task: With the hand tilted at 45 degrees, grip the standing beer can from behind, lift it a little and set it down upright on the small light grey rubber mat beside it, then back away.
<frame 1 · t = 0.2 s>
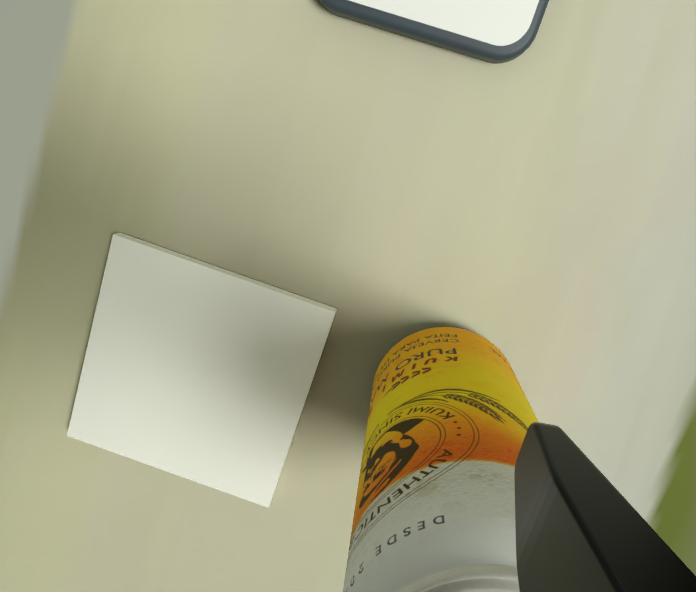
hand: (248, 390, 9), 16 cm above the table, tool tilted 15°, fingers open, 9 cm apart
mat: (198, 372, 26), on the table
beer can: (442, 386, 26), on the table
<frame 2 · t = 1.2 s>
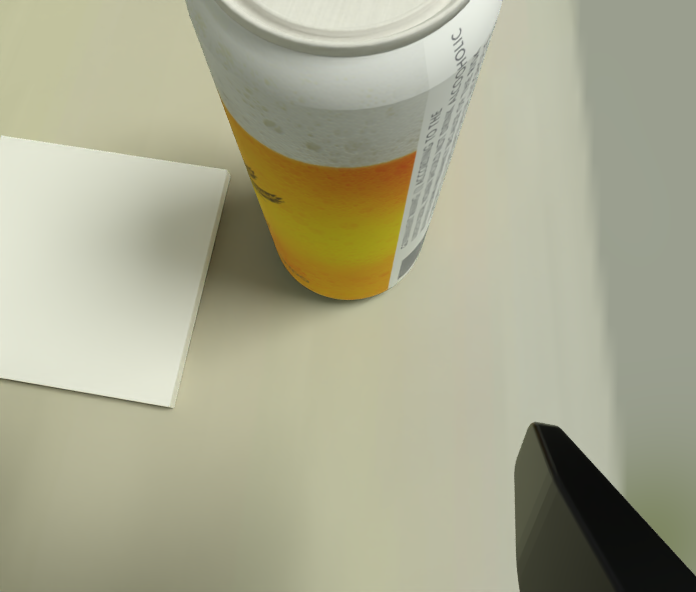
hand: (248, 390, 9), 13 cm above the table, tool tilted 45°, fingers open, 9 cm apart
mat: (86, 266, 24), on the table
beer can: (349, 236, 25), on the table
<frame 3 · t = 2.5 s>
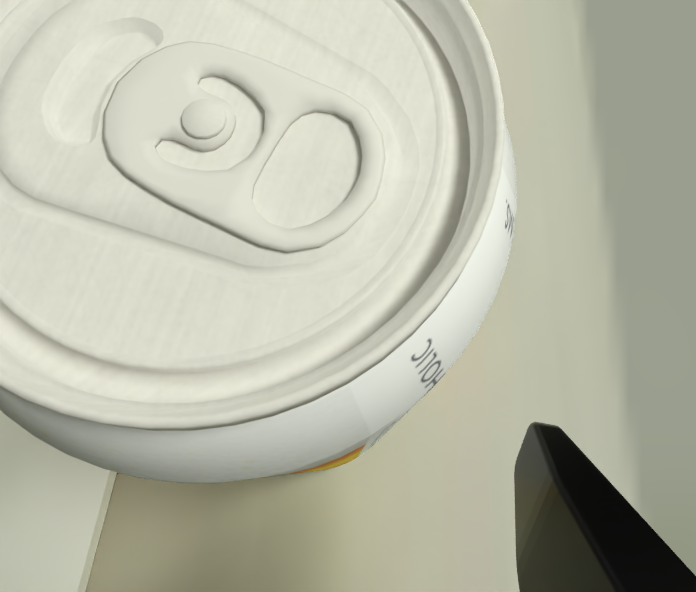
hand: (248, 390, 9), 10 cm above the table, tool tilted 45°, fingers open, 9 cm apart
beer can: (310, 376, 19), on the table
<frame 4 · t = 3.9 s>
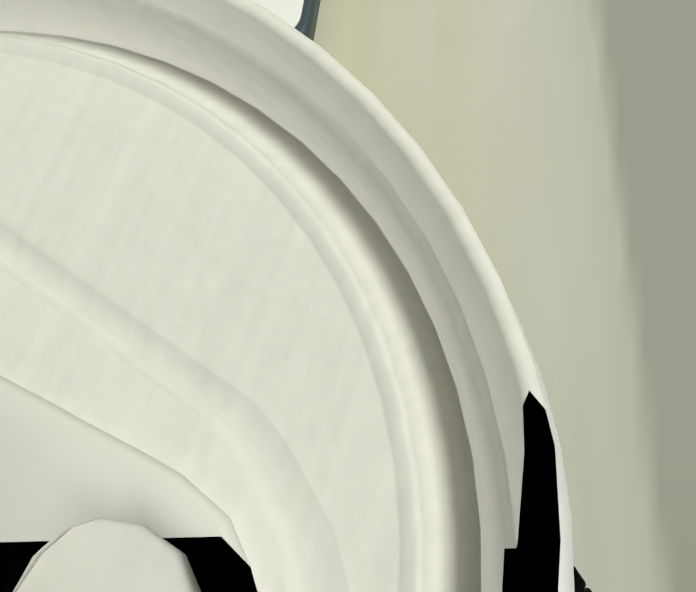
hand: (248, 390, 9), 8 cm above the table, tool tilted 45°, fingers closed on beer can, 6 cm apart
beer can: (284, 470, 17), on the table, touching gripper
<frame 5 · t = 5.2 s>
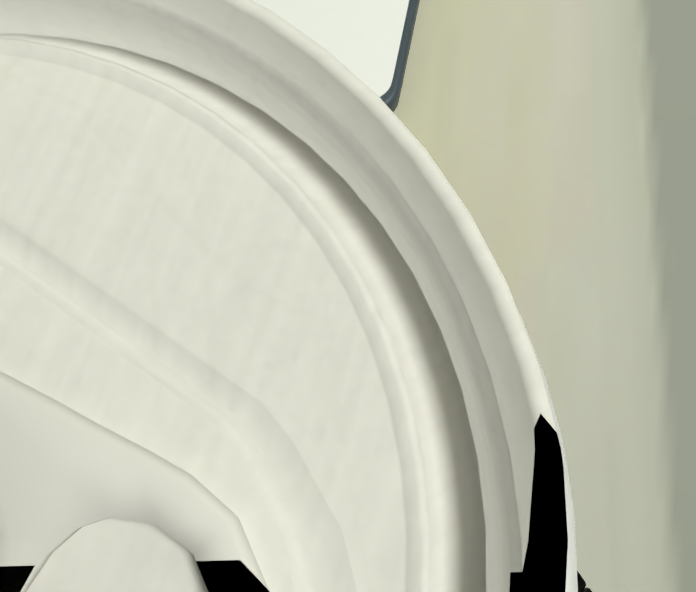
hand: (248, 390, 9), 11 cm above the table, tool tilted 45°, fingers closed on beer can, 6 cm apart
beer can: (285, 470, 17), point 3 cm above the table, touching gripper
when the fingers open (9 cm above the table, at t = 6.9 s): beer can stays where it is, resting on mat.
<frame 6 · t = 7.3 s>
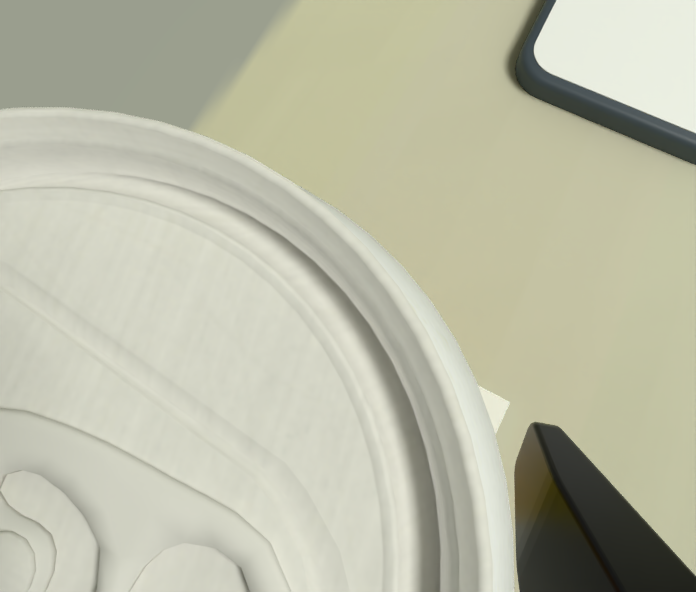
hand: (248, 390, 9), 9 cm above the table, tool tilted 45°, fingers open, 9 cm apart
mat: (290, 469, 18), on the table
beer can: (287, 475, 18), resting on mat
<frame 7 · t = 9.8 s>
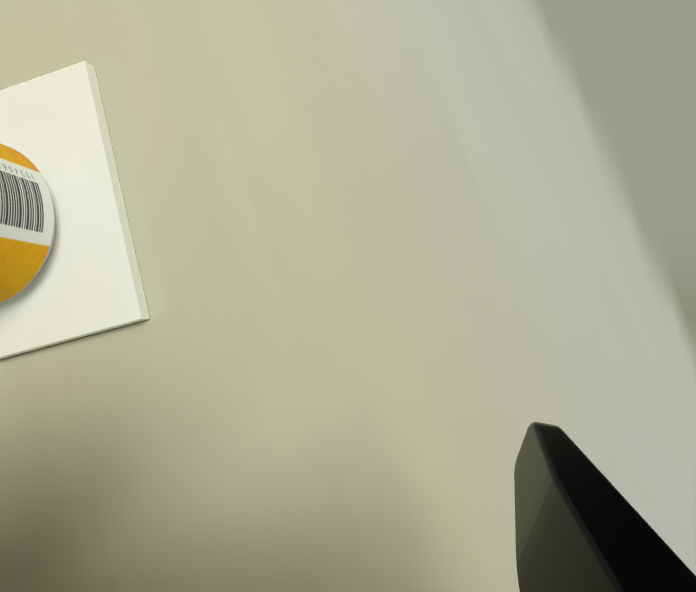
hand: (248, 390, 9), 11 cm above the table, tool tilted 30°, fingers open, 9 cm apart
mat: (7, 226, 23), on the table
beer can: (0, 228, 22), resting on mat
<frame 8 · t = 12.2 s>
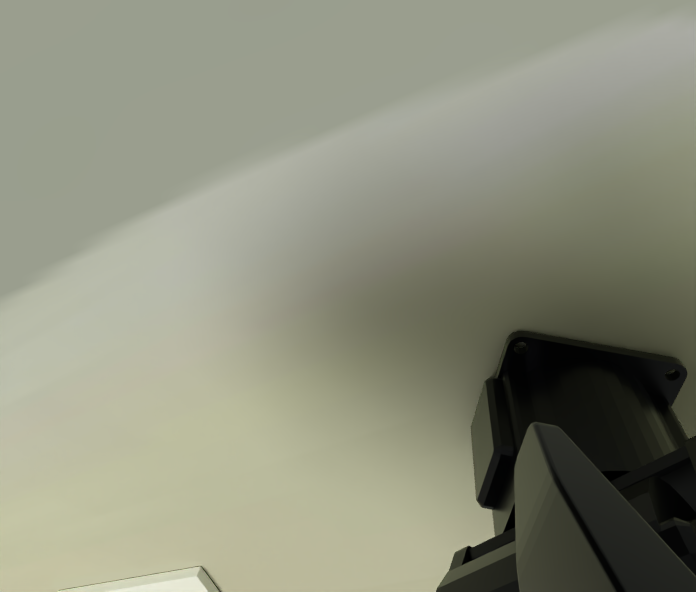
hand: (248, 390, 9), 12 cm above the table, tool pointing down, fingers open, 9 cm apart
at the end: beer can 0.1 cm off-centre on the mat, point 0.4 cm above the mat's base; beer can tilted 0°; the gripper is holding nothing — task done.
